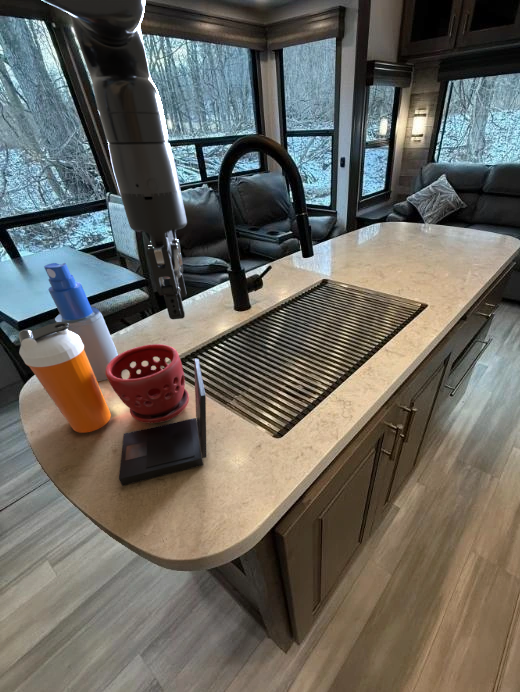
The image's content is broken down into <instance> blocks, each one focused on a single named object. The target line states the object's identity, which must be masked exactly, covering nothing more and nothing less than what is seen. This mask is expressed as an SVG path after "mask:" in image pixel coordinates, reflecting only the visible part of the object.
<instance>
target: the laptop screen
mask: <svg viewBox="0 0 520 692" xmlns="http://www.w3.org/2000/svg"><path fill="white" fill-rule="evenodd" d="M193 360H194V365H193V367H194V368H193V369H194V371H193V372H194V373H193V374H194V399H195V402H194V403H195V418H196V420H197V426H198V433H199V440H200V447H201V453H202V458H203V459H206V458H207V397H206V391H205V386H204V380H203V376H202V374H203V373H202V369H201V365H200V364H201V363H200V359H199V358H193Z"/></svg>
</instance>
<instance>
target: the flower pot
mask: <svg viewBox="0 0 520 692" xmlns="http://www.w3.org/2000/svg"><path fill="white" fill-rule="evenodd" d="M154 358H158V359H159V360H158V361H157V360H155V359H154ZM167 359H169V360H170V363H169V364H168V363H167ZM143 362H147V365H143ZM132 363H135V365H134V366H133V367H132V366H131V364H132ZM152 367H155V369H153V368H152ZM162 367H164V368H162ZM125 370H126V371H128V372H129V377H128V378H123V376H122V373H123V371H125ZM138 370H140V372H139V373H137V371H138ZM105 372H106V376H107V378H108V379H107V381H108V382H109V384H110V386H111V388H112V389H113V391H114V392H115V394H116V395H117V396H118V398H119V399H120V401H121V402H122V403H123V404H124V405H125V406H126V407H128V408H129V413H130V415H131V417H132V418H133V419H134V420H136V421H137V422H140V423H144V424H160V423H164V422H167V421H170V420H172V419H175V418H176V417H177V416H179V415H180V414H182V412H183V411H184V410H185V409H186V408H187V406H188V405H189V402H190V394H189V392H188V390H187V389H186V388H185V386H186V381H185V379H186V378H185V372H184V367H183V363H182V359H181V357H180V355H179V352H178V350H177V349H176V348H174V347H172V346H170V345H167V344H160V343H153V344H144V345H140V346H136V347H133V348H130V349H127V350H124V351H123V352H121V353H118V356H116V357H115V358H114V359H112V360H111V361H110V362H109V364H108V365H107V367H106V371H105Z"/></svg>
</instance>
